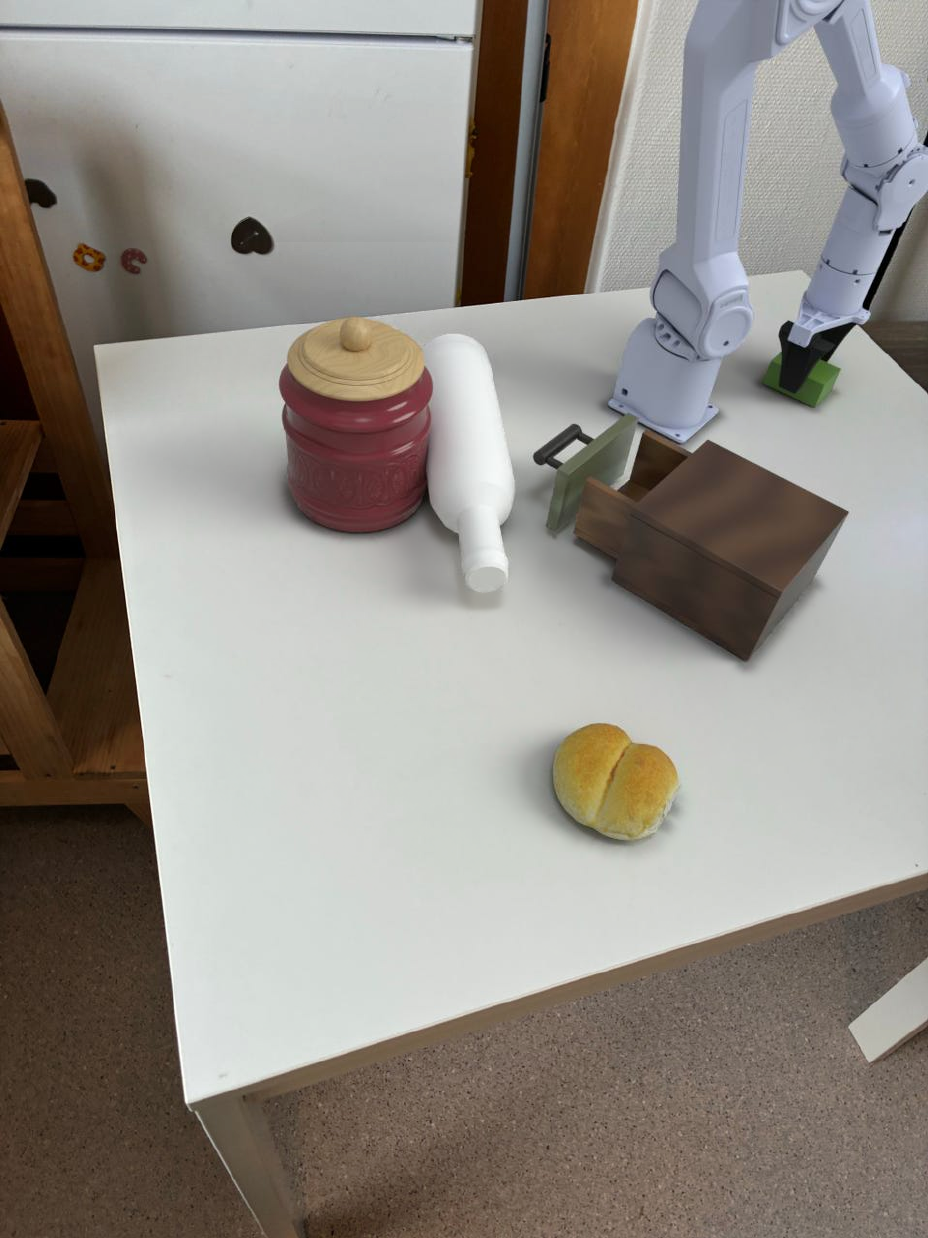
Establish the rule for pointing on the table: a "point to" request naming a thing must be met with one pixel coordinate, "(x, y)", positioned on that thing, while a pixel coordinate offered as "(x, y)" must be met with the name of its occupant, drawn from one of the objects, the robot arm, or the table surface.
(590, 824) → the bread roll
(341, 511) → the kitchen canister
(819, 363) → the green block
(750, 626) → the cabinet
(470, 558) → the bottle
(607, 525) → the drawer
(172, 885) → the table surface
